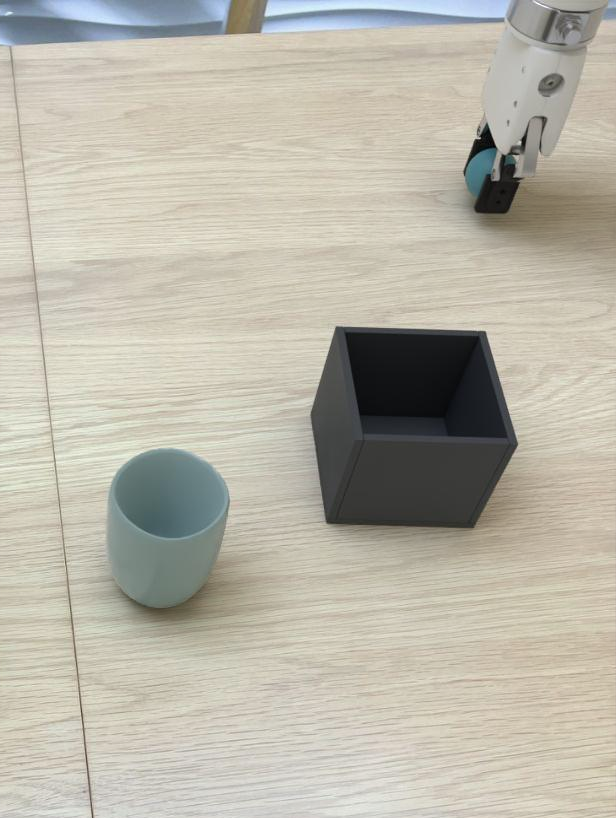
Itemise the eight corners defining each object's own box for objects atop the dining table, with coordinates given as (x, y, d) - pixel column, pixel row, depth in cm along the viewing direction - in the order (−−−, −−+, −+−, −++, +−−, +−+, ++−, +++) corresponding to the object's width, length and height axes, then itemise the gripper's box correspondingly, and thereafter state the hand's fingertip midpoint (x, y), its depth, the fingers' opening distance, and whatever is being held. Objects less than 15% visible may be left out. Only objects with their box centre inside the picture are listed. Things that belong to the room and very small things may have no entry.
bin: (447, 417, 89) (485, 330, 81) (474, 528, 82) (518, 444, 75) (310, 413, 89) (335, 325, 81) (325, 523, 82) (355, 439, 75)
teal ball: (502, 181, 108) (520, 138, 104) (513, 212, 105) (531, 169, 101) (454, 179, 108) (469, 136, 104) (463, 210, 105) (479, 167, 101)
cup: (81, 571, 79) (85, 485, 71) (160, 517, 82) (172, 429, 74) (153, 643, 76) (166, 561, 68) (232, 584, 79) (254, 499, 71)
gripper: (628, 68, 87) (542, 252, 101) (574, -39, 96) (504, 143, 111) (533, 65, 86) (462, 249, 101) (490, -42, 96) (430, 140, 111)
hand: (484, 192), depth 106 cm, fingers closed on teal ball, 4 cm apart
